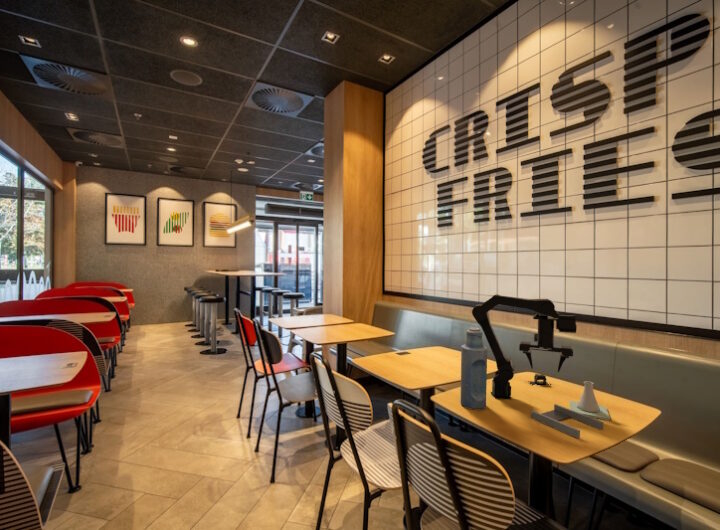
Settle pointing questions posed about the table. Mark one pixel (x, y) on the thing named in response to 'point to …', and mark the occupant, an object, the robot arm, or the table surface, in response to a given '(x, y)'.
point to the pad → (600, 414)
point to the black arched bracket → (539, 377)
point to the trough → (562, 414)
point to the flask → (588, 399)
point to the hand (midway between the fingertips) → (545, 370)
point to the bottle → (473, 370)
